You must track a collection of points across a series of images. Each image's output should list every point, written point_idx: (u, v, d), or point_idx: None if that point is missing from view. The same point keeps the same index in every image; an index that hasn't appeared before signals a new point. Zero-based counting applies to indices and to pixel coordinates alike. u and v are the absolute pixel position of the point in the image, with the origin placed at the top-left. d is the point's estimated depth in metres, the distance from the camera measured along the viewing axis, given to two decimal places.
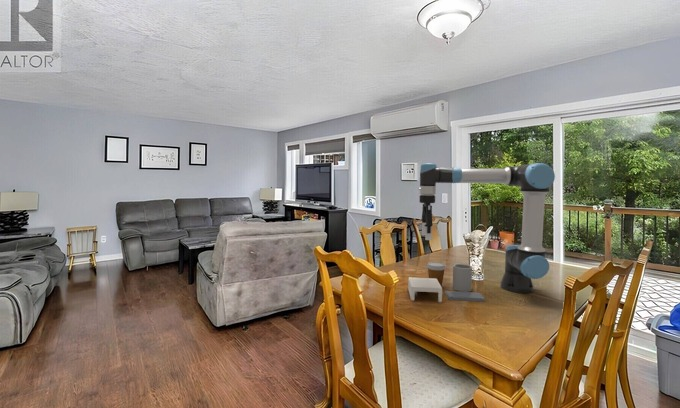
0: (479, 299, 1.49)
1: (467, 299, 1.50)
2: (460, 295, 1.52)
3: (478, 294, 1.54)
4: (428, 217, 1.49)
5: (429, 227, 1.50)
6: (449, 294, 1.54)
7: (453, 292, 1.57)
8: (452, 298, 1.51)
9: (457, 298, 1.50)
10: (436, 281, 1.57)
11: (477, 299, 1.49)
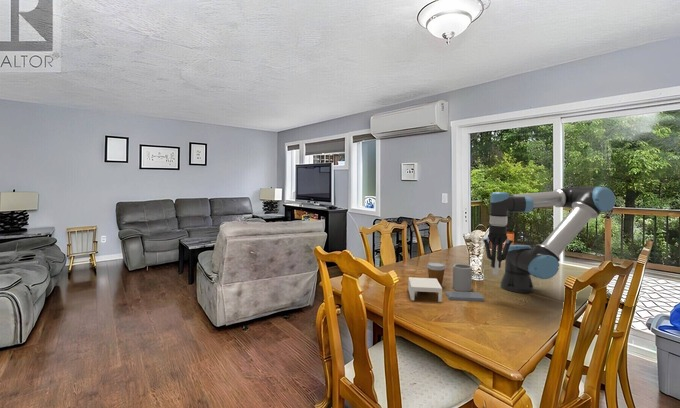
0: (479, 299, 1.49)
1: (467, 299, 1.50)
2: (460, 296, 1.52)
3: (478, 294, 1.54)
4: (486, 251, 1.51)
5: (491, 261, 1.51)
6: (449, 294, 1.54)
7: (453, 292, 1.56)
8: (452, 298, 1.50)
9: (457, 298, 1.50)
10: (436, 281, 1.57)
11: (477, 299, 1.49)
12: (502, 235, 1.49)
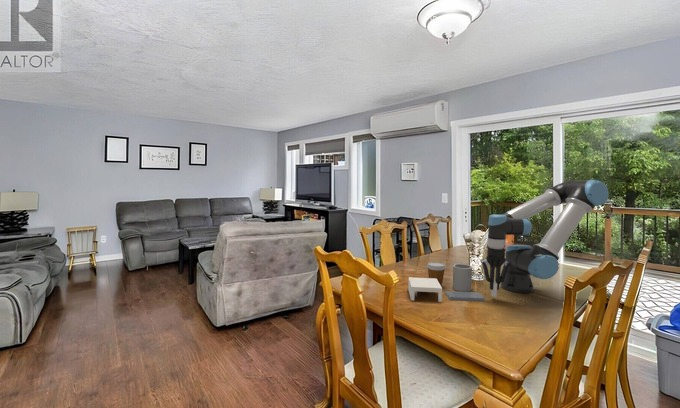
0: (479, 299, 1.49)
1: (467, 299, 1.50)
2: (460, 296, 1.52)
3: (478, 294, 1.54)
4: None
5: (490, 283, 1.52)
6: (449, 294, 1.54)
7: (453, 292, 1.56)
8: (452, 298, 1.50)
9: (457, 298, 1.50)
10: (436, 281, 1.57)
11: (477, 299, 1.49)
12: (500, 257, 1.49)
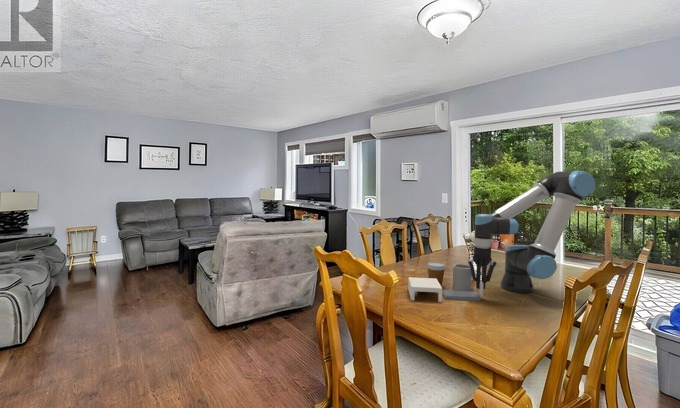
0: (476, 298, 1.50)
1: (464, 298, 1.50)
2: (457, 295, 1.52)
3: (475, 293, 1.55)
4: (471, 272, 1.53)
5: (476, 282, 1.52)
6: (446, 293, 1.54)
7: (450, 291, 1.57)
8: (449, 297, 1.51)
9: (454, 297, 1.51)
10: (436, 281, 1.57)
11: (473, 298, 1.50)
12: (486, 257, 1.50)
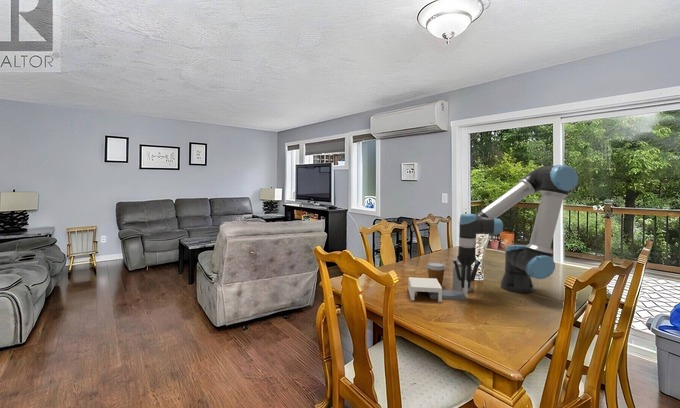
0: (460, 297, 1.50)
1: (448, 297, 1.51)
2: (442, 294, 1.53)
3: (460, 292, 1.55)
4: (456, 271, 1.54)
5: (461, 281, 1.53)
6: (431, 292, 1.55)
7: None
8: (433, 296, 1.52)
9: None
10: (436, 281, 1.57)
11: (458, 297, 1.51)
12: (471, 256, 1.51)
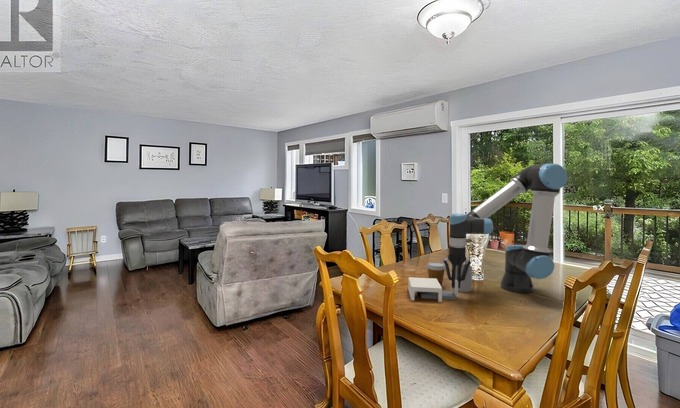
0: (451, 297, 1.51)
1: None
2: (432, 294, 1.54)
3: (450, 292, 1.56)
4: (446, 271, 1.54)
5: None
6: (422, 292, 1.55)
7: None
8: (424, 296, 1.52)
9: (429, 296, 1.52)
10: (436, 281, 1.57)
11: (448, 297, 1.51)
12: (461, 256, 1.52)
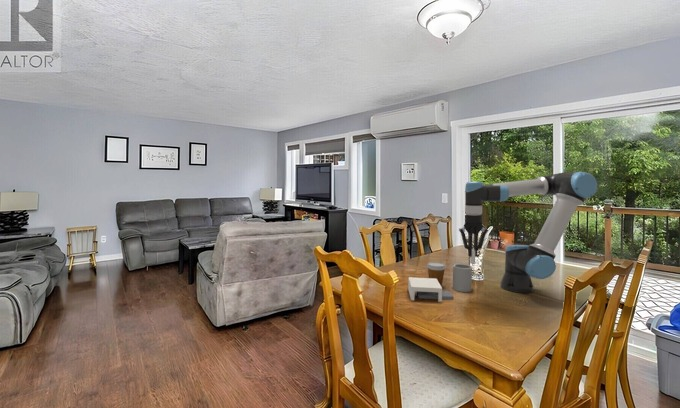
0: (448, 297, 1.51)
1: (436, 297, 1.52)
2: (430, 294, 1.54)
3: (447, 292, 1.56)
4: (463, 240, 1.52)
5: (468, 250, 1.52)
6: (419, 293, 1.55)
7: None
8: (422, 297, 1.52)
9: (427, 297, 1.52)
10: (436, 281, 1.57)
11: (446, 297, 1.51)
12: (478, 224, 1.50)
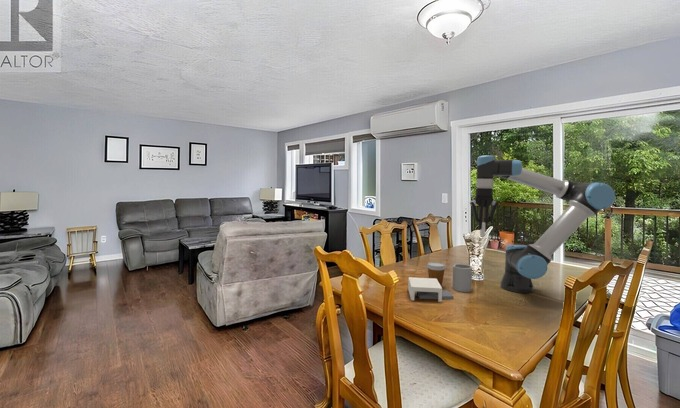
0: (448, 297, 1.52)
1: (437, 297, 1.52)
2: (430, 294, 1.53)
3: (447, 292, 1.57)
4: (473, 213, 1.57)
5: (478, 223, 1.56)
6: (419, 293, 1.55)
7: None
8: (422, 297, 1.52)
9: (427, 297, 1.52)
10: (436, 281, 1.57)
11: (446, 297, 1.52)
12: (488, 197, 1.54)
